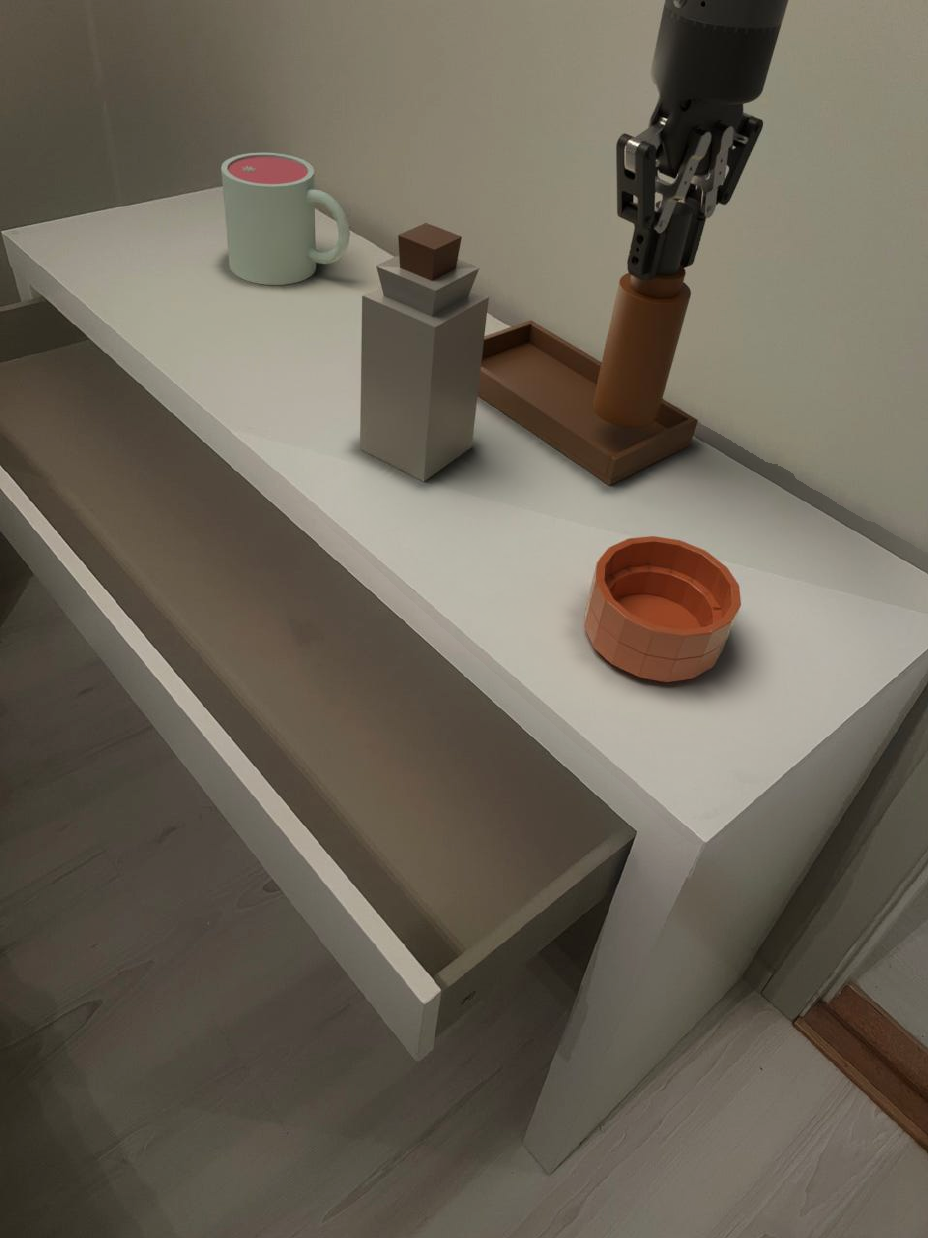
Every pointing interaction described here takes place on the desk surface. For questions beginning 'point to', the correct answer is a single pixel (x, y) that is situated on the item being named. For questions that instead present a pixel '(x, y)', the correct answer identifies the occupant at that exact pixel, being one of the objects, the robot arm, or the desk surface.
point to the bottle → (645, 334)
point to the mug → (275, 218)
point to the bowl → (661, 608)
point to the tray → (571, 403)
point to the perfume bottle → (421, 354)
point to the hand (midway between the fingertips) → (660, 268)
